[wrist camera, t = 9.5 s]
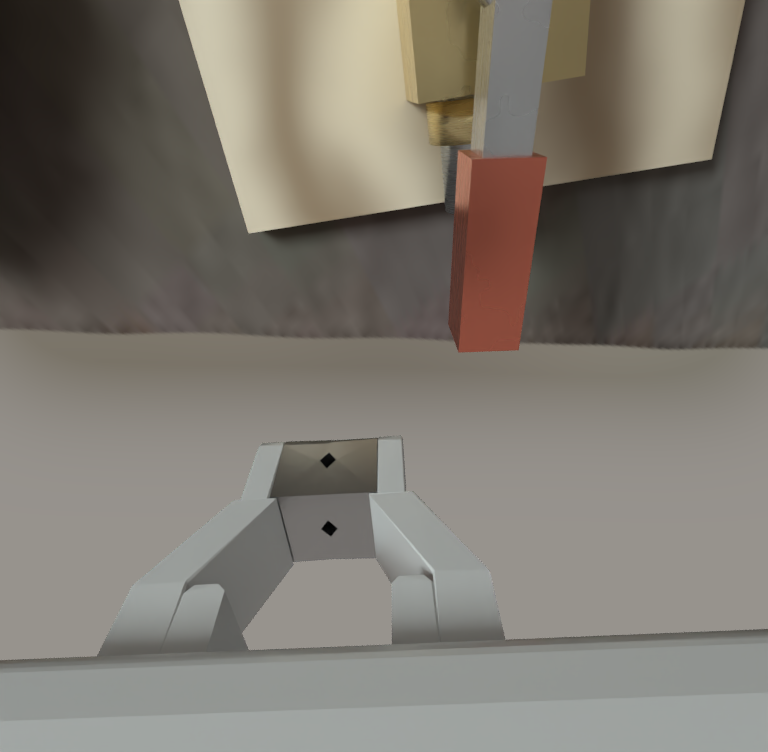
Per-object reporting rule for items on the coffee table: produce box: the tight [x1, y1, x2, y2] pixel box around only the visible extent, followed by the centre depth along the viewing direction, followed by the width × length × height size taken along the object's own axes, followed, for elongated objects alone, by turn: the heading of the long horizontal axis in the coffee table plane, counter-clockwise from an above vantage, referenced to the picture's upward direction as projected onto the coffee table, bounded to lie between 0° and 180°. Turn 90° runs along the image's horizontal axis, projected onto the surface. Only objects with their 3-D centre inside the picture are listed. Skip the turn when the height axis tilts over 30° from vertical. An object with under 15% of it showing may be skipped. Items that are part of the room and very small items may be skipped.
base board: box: [179, 0, 745, 233], centre depth 20 cm, size 24×16×2 cm, turn 98°
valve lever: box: [448, 0, 553, 352], centre depth 16 cm, size 13×3×3 cm, turn 1°
